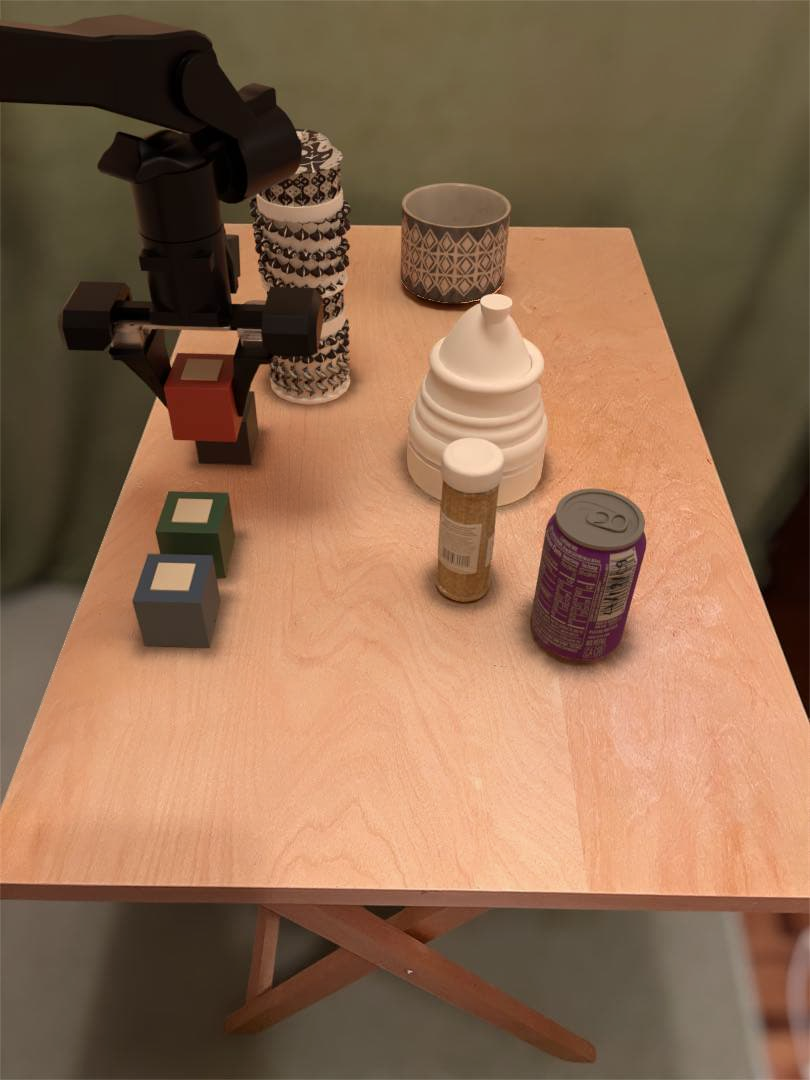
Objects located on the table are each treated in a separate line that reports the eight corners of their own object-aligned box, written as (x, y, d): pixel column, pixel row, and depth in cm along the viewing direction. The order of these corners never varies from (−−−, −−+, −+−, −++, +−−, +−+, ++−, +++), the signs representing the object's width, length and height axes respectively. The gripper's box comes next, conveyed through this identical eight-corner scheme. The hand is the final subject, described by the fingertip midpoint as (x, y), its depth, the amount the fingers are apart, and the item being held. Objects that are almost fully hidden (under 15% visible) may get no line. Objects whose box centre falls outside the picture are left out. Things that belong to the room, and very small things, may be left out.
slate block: (209, 647, 70) (200, 601, 66) (144, 646, 70) (131, 599, 66) (220, 600, 73) (212, 553, 70) (158, 598, 73) (147, 552, 70)
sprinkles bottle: (500, 585, 75) (518, 454, 66) (463, 613, 73) (475, 481, 64) (460, 556, 77) (471, 427, 68) (422, 583, 75) (428, 452, 66)
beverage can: (627, 611, 73) (658, 497, 65) (612, 677, 68) (644, 562, 60) (540, 589, 75) (560, 475, 67) (519, 652, 70) (538, 536, 62)
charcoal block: (251, 465, 86) (246, 420, 83) (198, 463, 86) (191, 419, 83) (258, 433, 90) (254, 389, 86) (208, 432, 90) (201, 388, 86)
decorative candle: (331, 415, 92) (321, 164, 75) (250, 394, 95) (223, 147, 78) (367, 370, 99) (366, 129, 82) (291, 352, 101) (273, 114, 84)
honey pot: (560, 498, 83) (591, 322, 71) (423, 516, 81) (431, 337, 69) (519, 418, 92) (540, 249, 80) (394, 431, 90) (397, 260, 78)
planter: (390, 268, 116) (390, 186, 109) (484, 259, 119) (491, 179, 111) (414, 317, 107) (417, 231, 100) (516, 306, 110) (526, 222, 102)
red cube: (236, 442, 72) (228, 387, 69) (173, 440, 72) (163, 385, 69) (245, 406, 76) (239, 352, 73) (186, 404, 76) (176, 350, 73)
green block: (225, 578, 75) (218, 531, 72) (164, 576, 75) (154, 530, 72) (235, 536, 79) (228, 491, 75) (177, 535, 79) (167, 489, 75)
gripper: (325, 183, 69) (332, 362, 79) (79, 176, 69) (119, 356, 80) (311, 249, 61) (321, 439, 71) (31, 241, 61) (82, 432, 71)
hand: (209, 412), depth 74 cm, fingers closed on red cube, 5 cm apart
